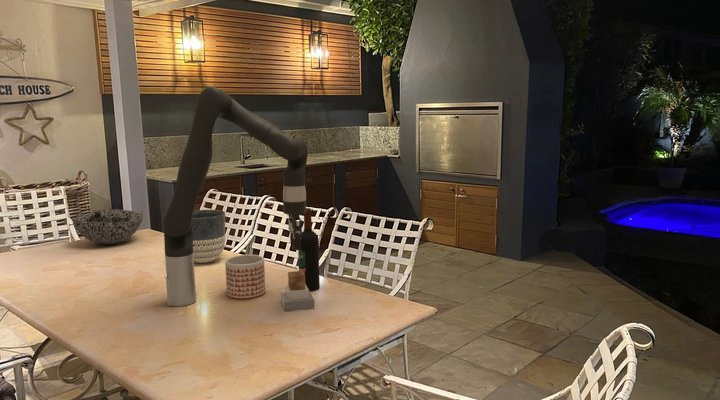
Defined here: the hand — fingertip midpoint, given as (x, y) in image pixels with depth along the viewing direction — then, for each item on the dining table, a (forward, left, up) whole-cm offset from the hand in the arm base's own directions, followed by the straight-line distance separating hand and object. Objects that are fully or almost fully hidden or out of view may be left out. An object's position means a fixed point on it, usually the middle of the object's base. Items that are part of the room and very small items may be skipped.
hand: (295, 246), depth 182 cm
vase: (-16, +17, -21) cm, 31 cm away
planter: (-31, +65, -21) cm, 75 cm away
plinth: (0, 0, -20) cm, 20 cm away
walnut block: (0, 0, -14) cm, 14 cm away
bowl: (-77, +114, -21) cm, 139 cm away
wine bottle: (+7, +16, -21) cm, 27 cm away
